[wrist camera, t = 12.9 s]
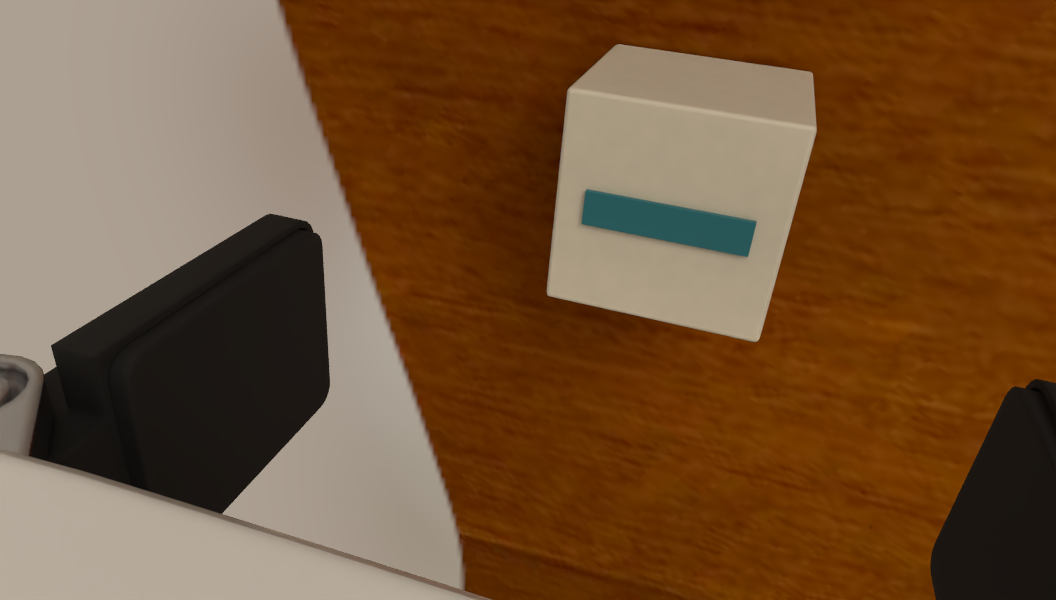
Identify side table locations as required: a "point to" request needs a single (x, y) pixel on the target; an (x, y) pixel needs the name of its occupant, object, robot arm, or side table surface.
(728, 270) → the letter i
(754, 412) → the side table surface
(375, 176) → the side table surface
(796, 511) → the side table surface
